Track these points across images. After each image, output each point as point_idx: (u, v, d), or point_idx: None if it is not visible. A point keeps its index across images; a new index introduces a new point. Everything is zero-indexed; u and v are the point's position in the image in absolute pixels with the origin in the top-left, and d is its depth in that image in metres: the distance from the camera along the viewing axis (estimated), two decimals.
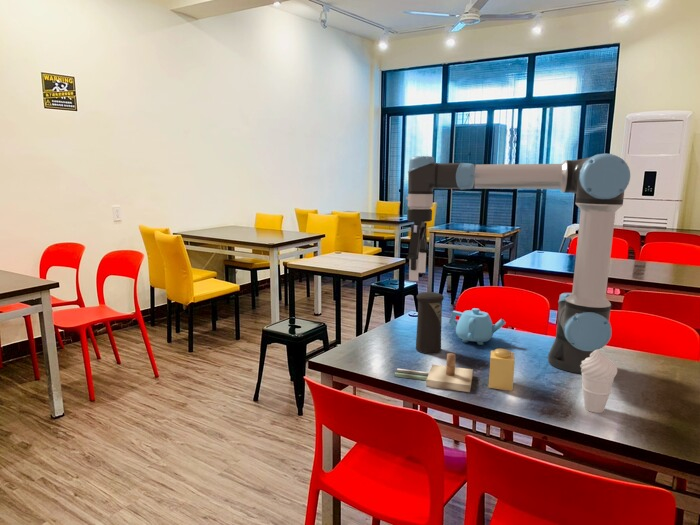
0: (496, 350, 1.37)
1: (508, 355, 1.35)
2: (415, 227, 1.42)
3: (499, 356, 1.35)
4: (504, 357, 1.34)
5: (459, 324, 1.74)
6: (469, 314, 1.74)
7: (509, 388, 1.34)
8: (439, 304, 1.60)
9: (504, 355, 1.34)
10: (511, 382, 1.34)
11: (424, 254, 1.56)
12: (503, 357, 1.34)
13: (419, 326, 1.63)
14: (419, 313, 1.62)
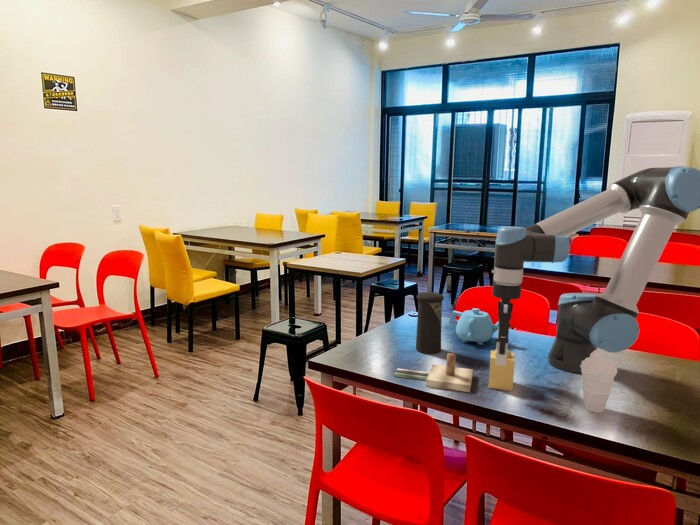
0: (496, 350, 1.37)
1: (508, 355, 1.35)
2: (505, 307, 1.28)
3: None
4: None
5: (459, 324, 1.74)
6: (469, 314, 1.74)
7: (509, 388, 1.34)
8: (439, 304, 1.60)
9: None
10: (511, 382, 1.34)
11: None
12: None
13: (419, 326, 1.63)
14: (419, 313, 1.62)
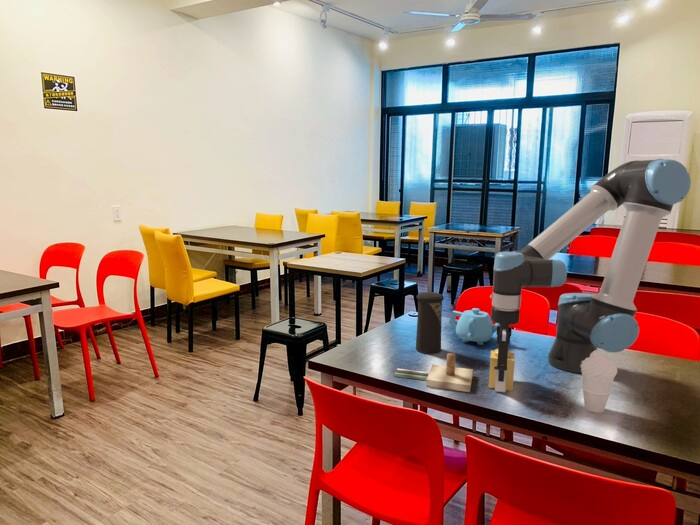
0: (496, 350, 1.37)
1: (508, 355, 1.35)
2: (504, 336, 1.29)
3: None
4: None
5: (459, 324, 1.74)
6: (469, 314, 1.74)
7: (509, 388, 1.34)
8: (439, 304, 1.60)
9: None
10: (511, 382, 1.34)
11: None
12: None
13: (419, 326, 1.63)
14: (419, 313, 1.62)
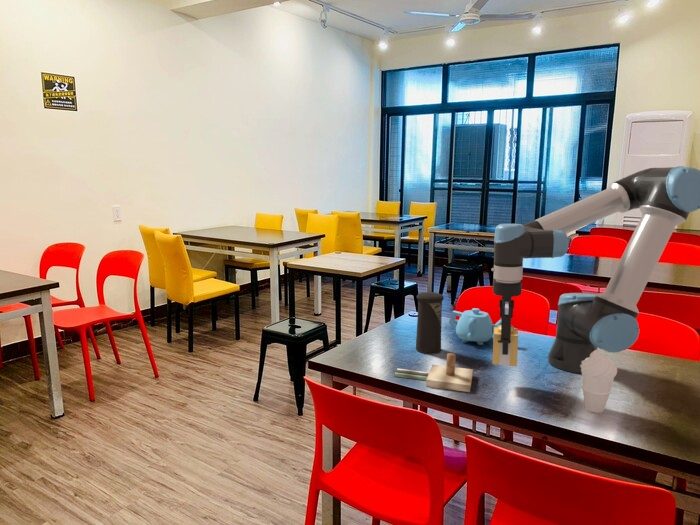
0: (499, 326, 1.36)
1: (511, 331, 1.33)
2: (506, 310, 1.28)
3: None
4: None
5: (459, 324, 1.74)
6: (469, 314, 1.74)
7: (513, 364, 1.33)
8: (439, 304, 1.60)
9: None
10: (515, 358, 1.33)
11: None
12: None
13: (419, 326, 1.63)
14: (419, 313, 1.62)
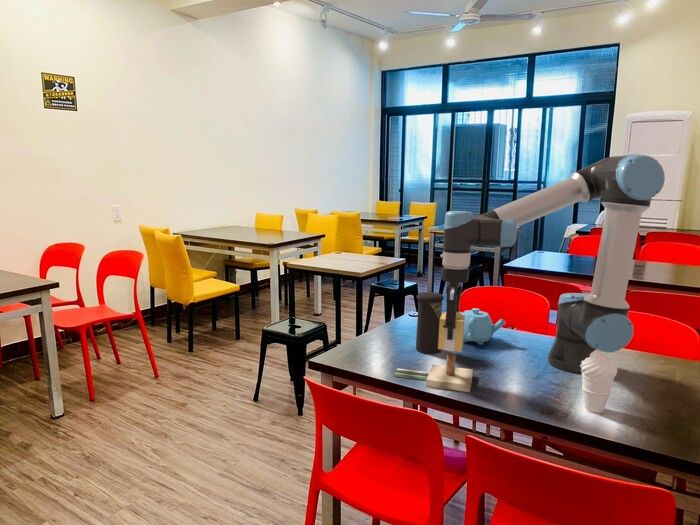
0: None
1: (457, 316, 1.35)
2: (451, 295, 1.30)
3: None
4: None
5: None
6: (469, 314, 1.74)
7: (458, 349, 1.35)
8: (439, 304, 1.60)
9: None
10: (460, 343, 1.34)
11: None
12: None
13: (419, 326, 1.63)
14: (419, 313, 1.62)
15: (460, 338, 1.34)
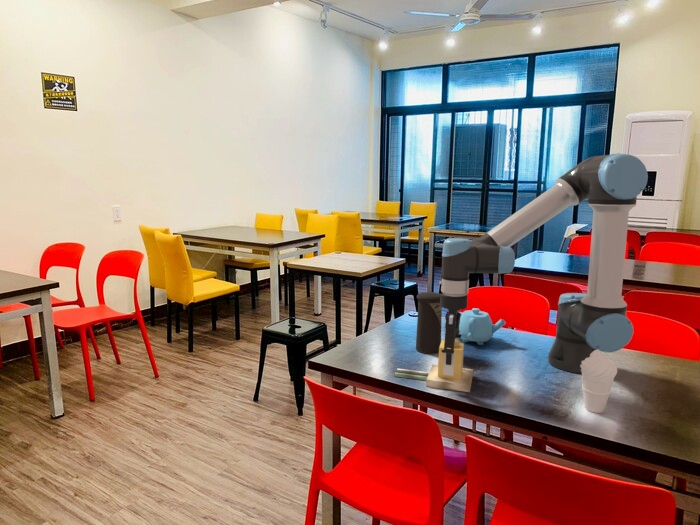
0: None
1: (456, 345, 1.37)
2: (451, 319, 1.31)
3: None
4: None
5: (459, 324, 1.74)
6: (469, 314, 1.74)
7: (457, 377, 1.36)
8: (439, 304, 1.60)
9: None
10: (459, 371, 1.36)
11: None
12: None
13: (419, 326, 1.63)
14: (419, 313, 1.62)
15: (459, 366, 1.36)
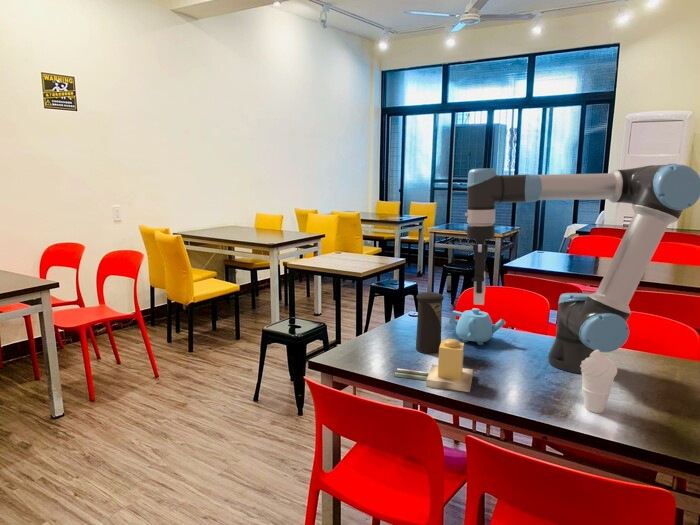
0: (445, 340, 1.39)
1: (456, 345, 1.37)
2: (480, 246, 1.30)
3: (448, 346, 1.37)
4: (452, 347, 1.36)
5: (459, 324, 1.74)
6: (469, 314, 1.74)
7: (457, 377, 1.36)
8: (439, 304, 1.60)
9: (452, 345, 1.36)
10: (459, 371, 1.36)
11: (483, 273, 1.44)
12: (451, 347, 1.36)
13: (419, 326, 1.63)
14: (419, 313, 1.62)
15: (459, 366, 1.36)
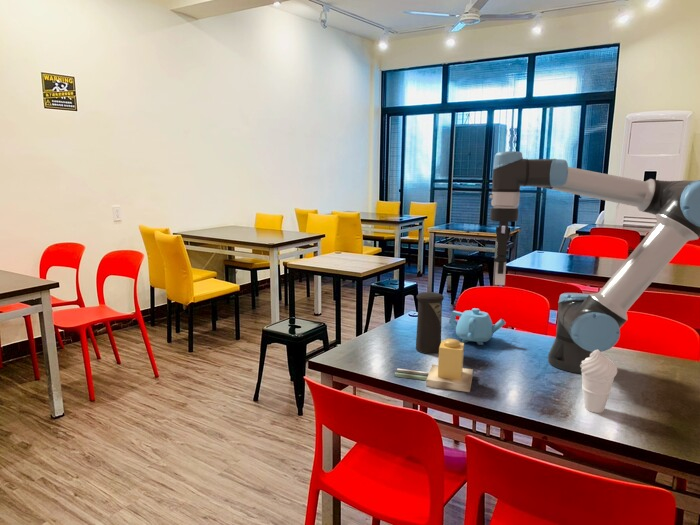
0: (445, 340, 1.39)
1: (456, 345, 1.37)
2: (503, 227, 1.32)
3: (448, 346, 1.37)
4: (452, 347, 1.36)
5: (459, 324, 1.74)
6: (469, 314, 1.74)
7: (457, 377, 1.36)
8: (439, 304, 1.60)
9: (452, 345, 1.36)
10: (459, 371, 1.36)
11: None
12: (451, 347, 1.36)
13: (419, 326, 1.63)
14: (419, 313, 1.62)
15: (459, 366, 1.36)
